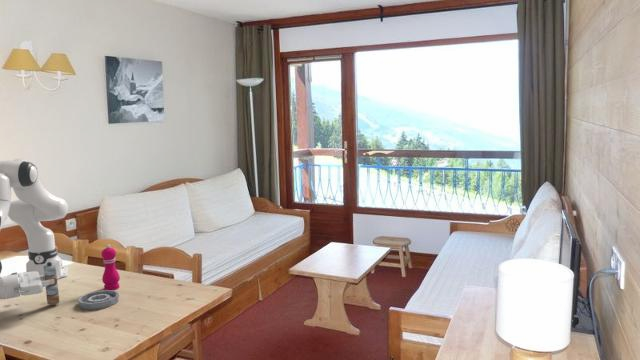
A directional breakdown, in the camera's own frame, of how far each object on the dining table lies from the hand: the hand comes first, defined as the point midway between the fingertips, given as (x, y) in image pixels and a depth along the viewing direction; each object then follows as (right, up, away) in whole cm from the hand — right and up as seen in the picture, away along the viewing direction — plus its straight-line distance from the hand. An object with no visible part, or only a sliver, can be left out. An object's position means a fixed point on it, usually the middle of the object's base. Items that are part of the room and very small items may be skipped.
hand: (53, 279), depth 207 cm
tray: (+18, -10, +2) cm, 21 cm away
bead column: (0, -10, +1) cm, 10 cm away
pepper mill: (+16, -8, +20) cm, 26 cm away
